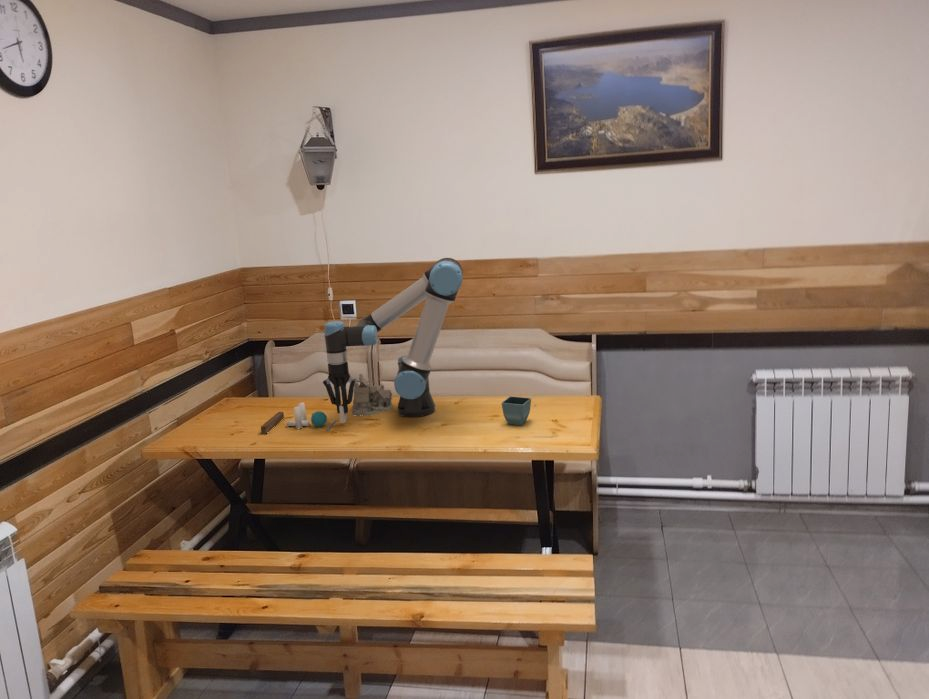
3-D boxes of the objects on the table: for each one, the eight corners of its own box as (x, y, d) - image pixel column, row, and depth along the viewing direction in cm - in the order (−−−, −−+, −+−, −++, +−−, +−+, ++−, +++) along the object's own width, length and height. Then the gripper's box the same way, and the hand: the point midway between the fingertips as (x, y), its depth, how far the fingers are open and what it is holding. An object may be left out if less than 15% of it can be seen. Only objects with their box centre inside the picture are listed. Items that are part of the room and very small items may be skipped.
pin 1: (303, 427, 302) (300, 406, 300) (301, 429, 300) (298, 408, 298) (297, 427, 302) (295, 406, 300) (295, 429, 300) (292, 408, 298)
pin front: (309, 419, 303) (288, 419, 305) (307, 421, 301) (286, 422, 302) (309, 425, 304) (289, 425, 305) (307, 427, 302) (286, 427, 303)
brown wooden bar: (284, 418, 314) (283, 411, 313) (266, 434, 296) (265, 426, 296) (279, 418, 314) (278, 411, 313) (261, 434, 297) (260, 426, 296)
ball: (310, 417, 305) (323, 426, 305) (306, 422, 299) (318, 432, 299) (319, 406, 303) (331, 415, 303) (314, 411, 297) (327, 420, 298)
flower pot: (532, 420, 294) (531, 397, 291) (524, 428, 286) (523, 404, 284) (510, 418, 297) (509, 396, 295) (502, 425, 290) (501, 402, 287)
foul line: (338, 420, 307) (338, 420, 307) (328, 431, 295) (328, 430, 295) (335, 420, 307) (335, 420, 307) (325, 431, 296) (325, 430, 296)
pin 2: (307, 422, 307) (305, 402, 305) (305, 425, 304) (303, 404, 302) (302, 423, 307) (299, 402, 305) (299, 425, 305) (297, 404, 303)
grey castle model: (346, 415, 313) (345, 379, 309) (362, 404, 328) (361, 370, 325) (382, 419, 309) (382, 382, 306) (396, 407, 324) (396, 372, 321)
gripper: (357, 359, 297) (362, 417, 303) (324, 360, 299) (330, 418, 305) (351, 364, 290) (357, 424, 295) (317, 365, 292) (324, 424, 298)
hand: (343, 421), depth 300 cm, fingers closed
